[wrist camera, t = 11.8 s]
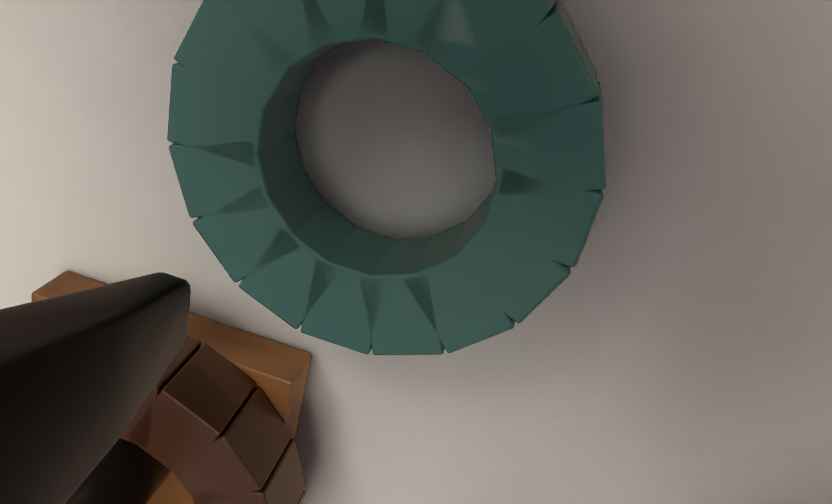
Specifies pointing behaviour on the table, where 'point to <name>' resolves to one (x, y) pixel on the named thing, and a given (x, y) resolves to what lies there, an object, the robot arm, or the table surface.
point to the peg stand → (256, 356)
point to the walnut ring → (218, 432)
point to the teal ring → (361, 249)
